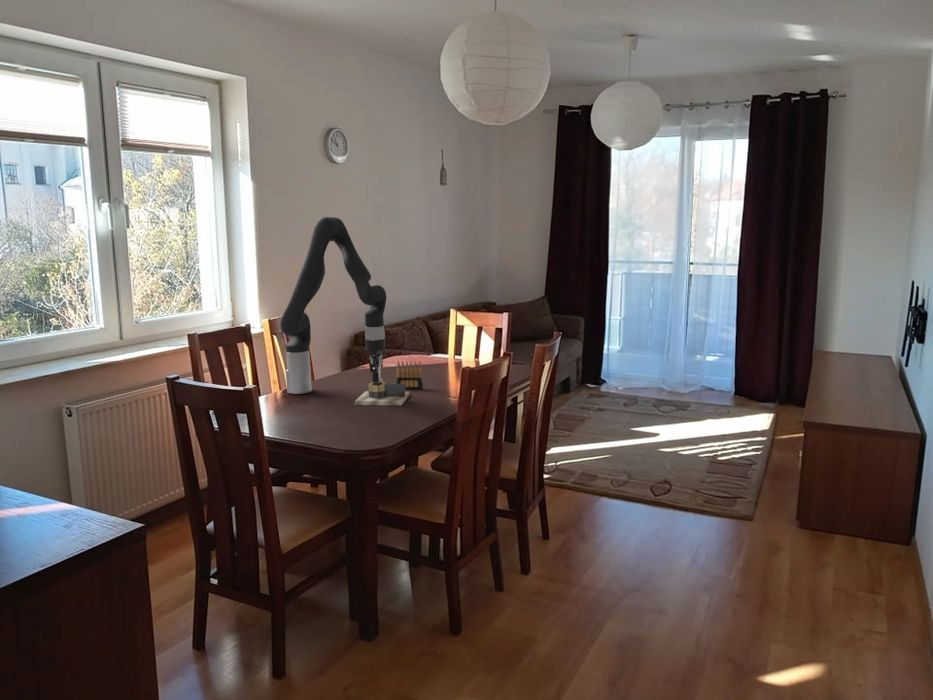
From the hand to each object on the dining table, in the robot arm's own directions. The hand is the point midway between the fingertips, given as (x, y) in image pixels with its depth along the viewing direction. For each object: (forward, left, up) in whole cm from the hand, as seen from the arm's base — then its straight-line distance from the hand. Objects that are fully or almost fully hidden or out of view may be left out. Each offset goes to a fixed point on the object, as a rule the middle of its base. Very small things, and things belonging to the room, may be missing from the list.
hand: (377, 380), depth 286 cm
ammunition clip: (+9, +18, -8) cm, 22 cm away
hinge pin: (0, 0, -4) cm, 4 cm away
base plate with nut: (+2, 0, -8) cm, 8 cm away
